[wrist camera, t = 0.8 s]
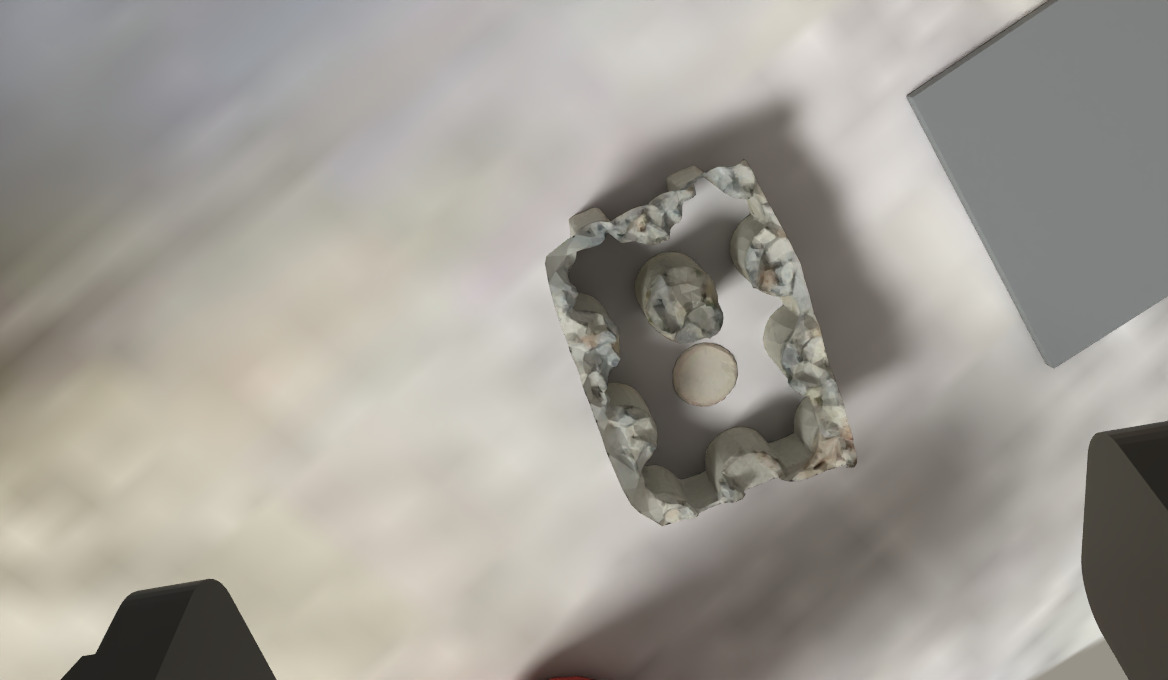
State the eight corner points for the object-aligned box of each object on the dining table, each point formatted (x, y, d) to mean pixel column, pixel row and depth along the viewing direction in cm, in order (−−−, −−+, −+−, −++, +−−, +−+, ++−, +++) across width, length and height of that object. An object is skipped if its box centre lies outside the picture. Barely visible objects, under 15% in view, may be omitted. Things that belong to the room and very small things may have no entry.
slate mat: (906, 96, 32) (912, 97, 32) (1240, -128, 31) (1252, -130, 31) (1045, 363, 35) (1053, 368, 35) (1350, 169, 35) (1362, 172, 34)
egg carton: (826, 427, 36) (871, 478, 32) (626, 500, 36) (647, 560, 32) (745, 138, 32) (785, 157, 28) (523, 220, 32) (532, 249, 28)
